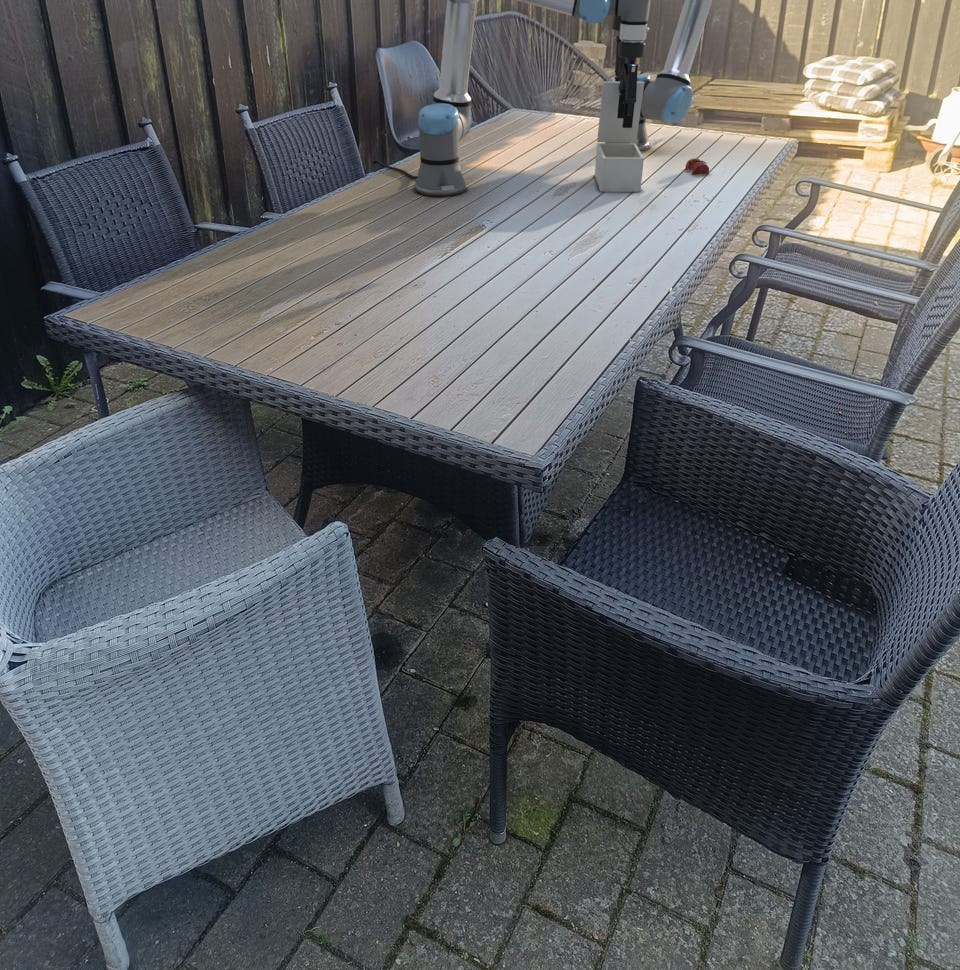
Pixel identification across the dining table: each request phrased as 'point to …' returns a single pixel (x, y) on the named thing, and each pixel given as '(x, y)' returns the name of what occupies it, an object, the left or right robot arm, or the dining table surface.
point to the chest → (618, 167)
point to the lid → (608, 119)
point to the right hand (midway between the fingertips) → (618, 100)
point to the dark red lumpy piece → (697, 166)
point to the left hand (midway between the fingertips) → (624, 122)
